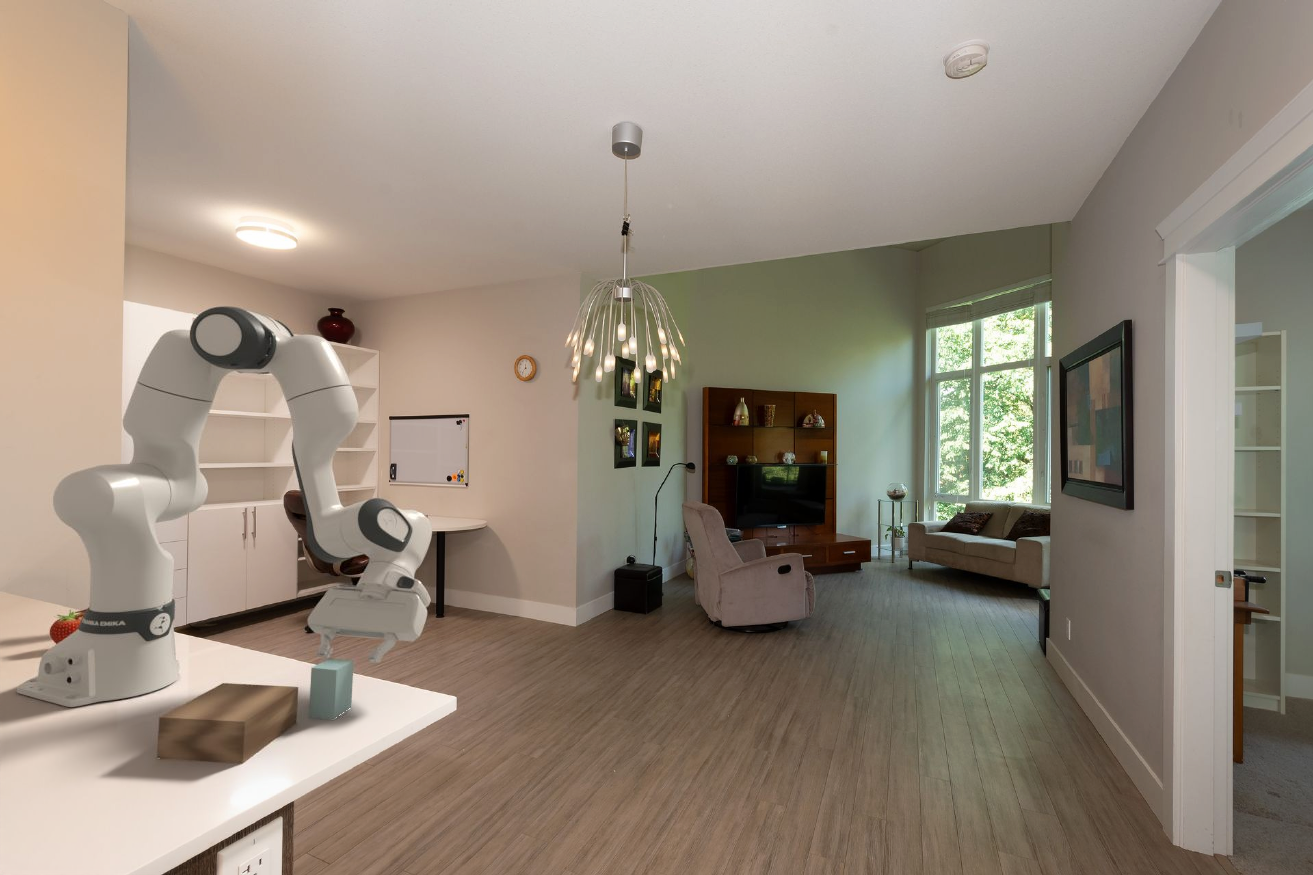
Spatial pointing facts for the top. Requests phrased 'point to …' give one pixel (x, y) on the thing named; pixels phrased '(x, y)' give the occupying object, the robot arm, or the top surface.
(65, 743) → the top surface
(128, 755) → the top surface
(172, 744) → the walnut block
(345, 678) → the tea tin
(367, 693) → the top surface
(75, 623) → the fruit
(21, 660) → the top surface
